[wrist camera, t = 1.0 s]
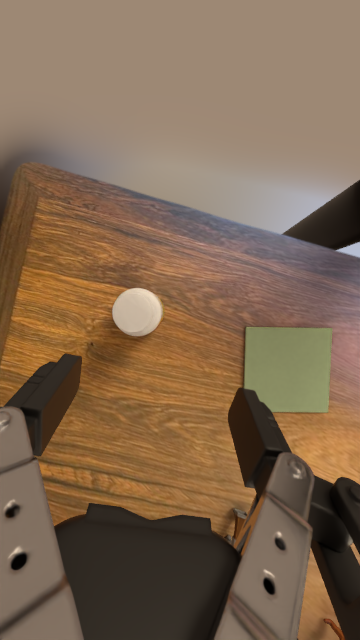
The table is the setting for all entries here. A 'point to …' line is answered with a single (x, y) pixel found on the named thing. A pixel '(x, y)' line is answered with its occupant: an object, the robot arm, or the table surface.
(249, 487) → the robot arm
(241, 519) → the wooden post with brackets
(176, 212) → the table surface
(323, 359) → the mat
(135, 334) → the supplement bottle
